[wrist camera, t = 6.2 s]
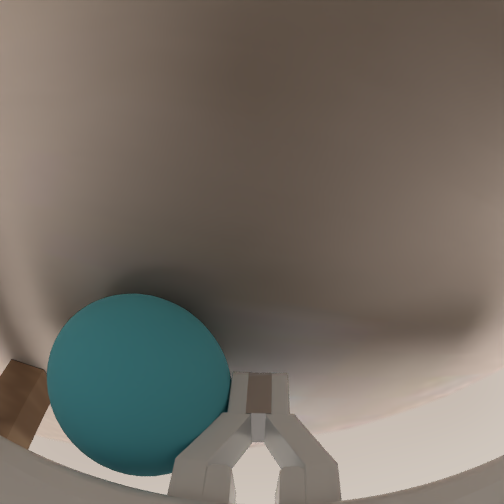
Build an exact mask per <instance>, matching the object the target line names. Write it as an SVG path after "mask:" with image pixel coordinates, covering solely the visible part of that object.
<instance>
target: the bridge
mask: <svg viewBox="0 0 504 504" xmlns="http://www.w3.org/2000/svg"><path fill="white" fill-rule="evenodd" d="M49 404H50V399H49V395H48V388H47V375H46V373H45V371H44V370H42V369H39V368H36V367H33V366H30V365H27V364H24V363H21V362H18V361H15V360H12V359H11V361H10V362H9V364H8V365H7V367H6V368H5V370H4V371H3V373H2V374H1V376H0V435H1V436H2V437H4V438H6V439H8V440H10V441H12V442H14V443H15V444H17V445H19V446H21V447H23V448H25V449H27V450H28V448H29V446H30V444H31V442H32V440H33V438H34V435H35V433H36V431H37V429H38V427H39V425H40V423H41V421H42V418H43V416H44V414H45V412H46V410H47V408H48V406H49Z"/></svg>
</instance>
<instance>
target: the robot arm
mask: <svg viewBox="0 0 504 504" xmlns="http://www.w3.org/2000/svg"><path fill="white" fill-rule="evenodd" d="M252 442H265V445H266V447H267V448H268V450H269V451H270V453H271V454H272V456H273V457H274V459H275V460H276V462H277V463H278V465H279V466H280V468H281V470H280V474H279V478H278V483H277V488H276V493H275V504H504V455H503V456H500V457H498V458H496V459H494V460H492V461H489V462H487V463H485V464H482V465H480V466H477V467H475V468H472V469H470V470H467V471H464V472H461V473H459V474H456V475H453V476H450V477H447V478H444V479H441V480H438V481H435V482H431V483H428V484H424V485H421V486H417V487H413V488H409V489H405V490H401V491H396V492H392V493H387V494H382V495H377V496H371V497H366V498H359V499H352V500H344V501H341V492H340V482H339V472H338V464H337V462H336V461H335V460H334V459H333V458H332V457H331V456H330V455H329V453H328V452H327V451H326V450H325V449H324V448H323V447H322V445H321V444H320V443H319V442H318V441H317V440H316V439H315V437H314V436H313V435H312V434H311V433H310V432H309V431H308V429H307V428H306V427H305V426H304V425H303V424H302V422H301V421H300V420H299V419H298V418H297V417H296V415H295V414H290V407H289V384H288V374H287V373H253V372H233V374H232V379H231V387H230V395H229V403H228V411H227V412H223V413H222V414H221V415H220V416H219V417H218V418H217V419H216V420H215V421H214V422H213V423H212V424H211V425H210V426H209V427H207V428H206V429H205V430H204V431H203V432H202V433H201V434H200V435H199V436H198V437H197V438H196V439H195V440H194V441H193V442H192V443H191V444H190V445H189V446H188V447H187V448H186V449H185V450H183V451H182V452H181V453H180V454H179V455H178V456H177V457H176V458H175V462H174V467H173V471H172V476H171V480H170V485H169V489H168V494H167V495H164V494H159V493H154V492H149V491H144V490H140V489H136V488H132V487H128V486H124V485H121V484H117V483H114V482H110V481H106V480H104V479H100V478H97V477H94V476H91V475H88V474H85V473H82V472H80V471H77V470H74V469H71V468H69V467H66V466H64V465H61V464H59V463H56V462H54V461H52V460H49V459H47V458H45V457H42V456H40V455H38V454H36V453H34V452H32V451H29V450H27V449H25V448H23V447H21V446H19V445H17V444H15V443H14V442H12V441H10V440H8V439H6V438H4V437H2V436H1V435H0V504H235V499H236V491H235V486H234V480H233V474H232V468H233V466H234V465H235V464H236V463H237V461H238V460H239V459H240V457H241V456H242V455H243V454H244V453H245V451H246V450H247V449H248V447H249V446H250V445H251V444H252Z"/></svg>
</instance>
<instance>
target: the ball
mask: <svg viewBox="0 0 504 504" xmlns="http://www.w3.org/2000/svg"><path fill="white" fill-rule="evenodd" d="M230 387H231V376H230V371H229V368H228V364H227V361H226V358H225V356H224V354H223V351H222V350H221V348H220V346H219V344H218V342H217V341H216V339H215V338H214V336H213V335H212V334H211V332H210V331H209V330H208V329H207V328H206V327H205V326H204V325H203V323H202V322H201V321H199V320H198V319H197V318H196V317H195V316H194V315H192V314H191V313H190V312H188V311H187V310H185V309H184V308H182V307H180V306H179V305H176V304H174V303H172V302H170V301H167V300H165V299H162V298H159V297H155V296H151V295H144V294H119V295H113V296H109V297H105V298H103V299H100V300H98V301H95V302H93V303H91V304H89V305H87V306H86V307H84V308H83V309H81V310H80V311H79V312H77V313H76V314H75V315H74V316H73V317H72V318H71V319H69V321H68V322H67V323H66V324H65V326H64V327H63V328H62V330H61V331H60V333H59V335H58V336H57V338H56V340H55V342H54V344H53V347H52V350H51V352H50V356H49V361H48V368H47V388H48V395H49V399H50V403H51V407H52V409H53V412H54V414H55V417H56V419H57V421H58V423H59V424H60V426H61V428H62V430H63V431H64V433H65V434H66V435H67V437H68V438H69V439H70V440H71V442H72V443H73V444H74V445H75V446H76V447H77V448H78V449H79V450H80V451H81V452H83V453H84V454H85V455H86V456H88V457H89V458H91V459H92V460H94V461H95V462H97V463H98V464H100V465H102V466H105V467H107V468H109V469H111V470H114V471H117V472H121V473H124V474H128V475H136V476H158V475H164V474H169V473H172V471H173V467H174V462H175V458H176V457H177V456H178V455H179V454H180V453H181V452H182V451H183V450H185V449H186V448H187V447H188V446H189V445H190V444H191V443H192V442H193V441H194V440H195V439H196V438H197V437H198V436H199V435H200V434H201V433H202V432H203V431H204V430H205V429H206V428H207V427H209V426H210V425H211V424H212V423H213V422H214V421H215V420H216V419H217V418H218V417H219V416H220V415H221V414H222V413H223V412H227V411H228V403H229V395H230Z"/></svg>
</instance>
